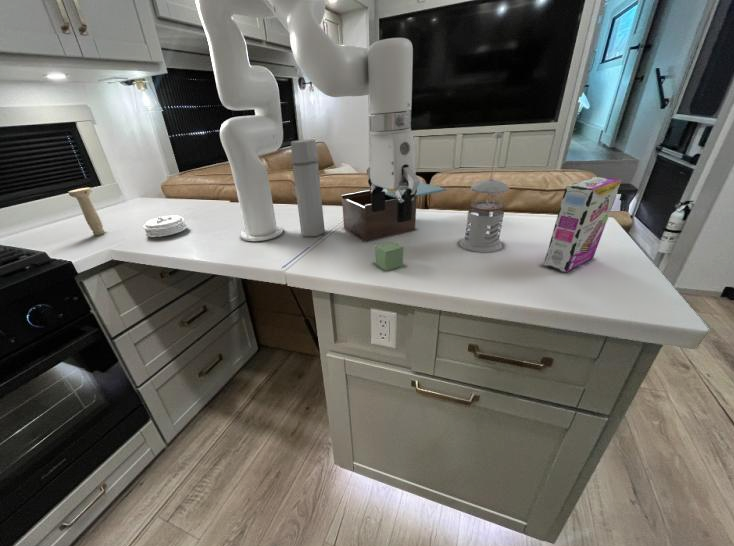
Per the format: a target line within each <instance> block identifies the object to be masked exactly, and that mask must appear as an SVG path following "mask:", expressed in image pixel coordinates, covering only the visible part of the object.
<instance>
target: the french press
mask: <svg viewBox="0 0 734 546" xmlns="http://www.w3.org/2000/svg"><path fill="white" fill-rule="evenodd" d="M503 136H504V134H503V132H502V131H496V132H494V133H493V135H492V139H496V142H495V148H494V154H493V161H492V167H491V173H490V178H489V179H484V180H481V181H478V182H475V183H474V184H472V185H471V186H470V189H471V190H472V192H475V193H479V194H487V199H486V200H479V201H475V202H472V203H471V204H470V207H471V208H470V209H469V210H468V211H467V219H466V225H465V226H466V227H465V231H464V233H465V234H464V238H463V239H461V241H460V242H459V245H460V247H461V248H463V249H465V250H467V251H468V250H469V251H471V252H476V253H477V252H478V253H490V252H497V251H500V250H501V249H502V248H503V244H502V243H501V241H500V237H501V231H502V227H503V225H502V224H503V221H504V215H505V212H504V210H503V208H504V207H505V205H504V204H503V203H502V197H503V196H502V195H503V193H506V192H508V191H509V190H510V186H509V185H508V184H506V183H505V182H503V181H500V180H498V179H493V172H494V167H495V166H494V165H495V159H496V153H497V147H498V140H499V139H503ZM499 194H500V196H499ZM489 196H492V197H493V200H492V201H491V200H489ZM498 196H499V197H500V200H499V202H498V201H495V200H496V199H495V198H496V197H498ZM473 213H474V214H473ZM476 214H477V215H476ZM488 226H489V228H488ZM487 232H489V233H487Z"/></svg>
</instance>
